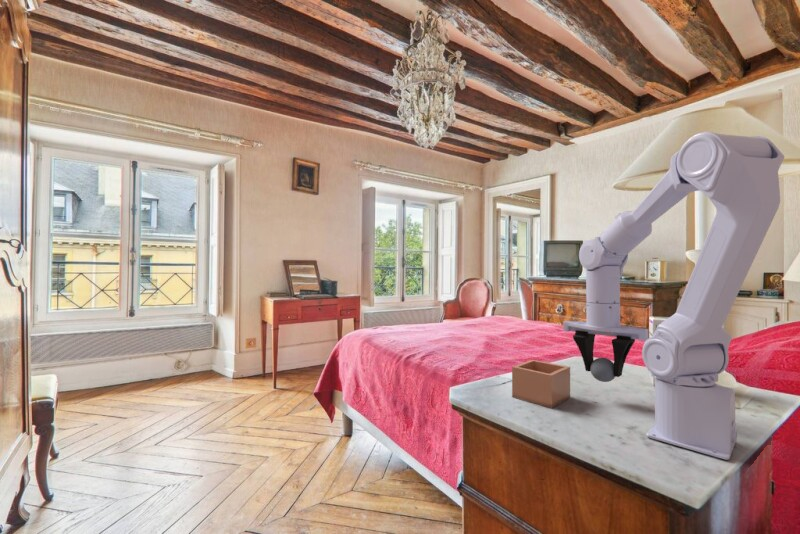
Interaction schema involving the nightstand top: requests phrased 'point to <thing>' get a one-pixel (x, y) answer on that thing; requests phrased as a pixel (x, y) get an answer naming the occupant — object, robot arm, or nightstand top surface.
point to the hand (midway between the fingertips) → (603, 372)
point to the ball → (602, 369)
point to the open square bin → (541, 383)
